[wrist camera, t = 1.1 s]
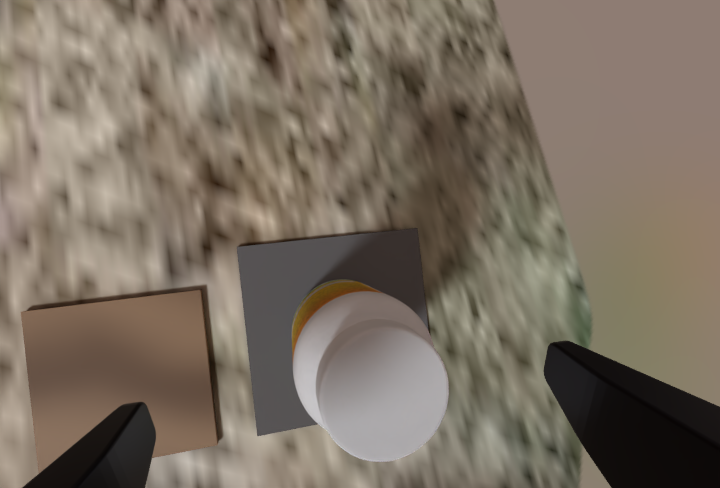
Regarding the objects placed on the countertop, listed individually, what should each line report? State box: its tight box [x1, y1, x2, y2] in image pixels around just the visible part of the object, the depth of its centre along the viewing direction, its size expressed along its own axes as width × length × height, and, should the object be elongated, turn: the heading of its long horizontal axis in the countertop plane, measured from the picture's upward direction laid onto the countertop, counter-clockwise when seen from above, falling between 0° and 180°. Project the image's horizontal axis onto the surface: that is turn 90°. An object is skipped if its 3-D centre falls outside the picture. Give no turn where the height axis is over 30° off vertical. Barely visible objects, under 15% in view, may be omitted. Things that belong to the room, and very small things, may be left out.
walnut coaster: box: [21, 289, 218, 473], centre depth 18 cm, size 8×8×1 cm
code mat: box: [237, 228, 428, 436], centre depth 20 cm, size 10×10×1 cm
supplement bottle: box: [292, 279, 449, 462], centre depth 16 cm, size 5×5×10 cm
